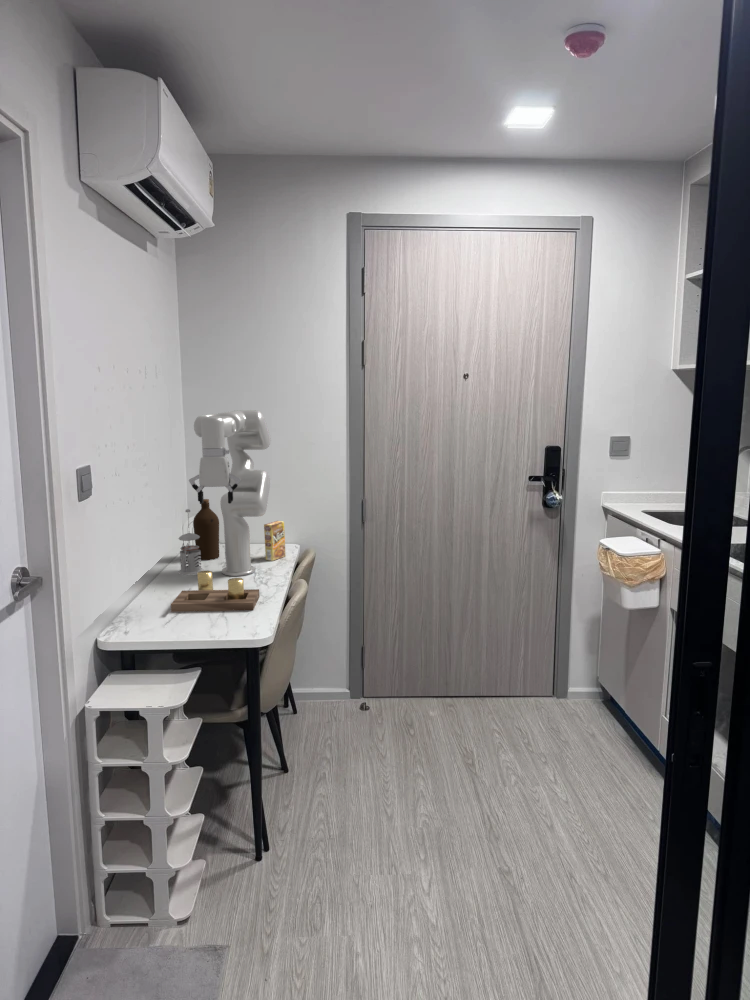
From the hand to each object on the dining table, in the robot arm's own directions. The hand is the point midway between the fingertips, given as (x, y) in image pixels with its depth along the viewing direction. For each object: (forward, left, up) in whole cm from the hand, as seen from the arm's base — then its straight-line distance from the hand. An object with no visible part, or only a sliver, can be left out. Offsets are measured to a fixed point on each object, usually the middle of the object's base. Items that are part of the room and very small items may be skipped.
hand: (215, 503), depth 225 cm
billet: (+2, -5, -32) cm, 32 cm away
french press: (-27, -17, -32) cm, 45 cm away
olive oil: (-49, -15, -32) cm, 60 cm away
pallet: (+15, +2, -32) cm, 35 cm away
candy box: (-46, +14, -32) cm, 58 cm away
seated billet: (+15, +8, -31) cm, 35 cm away
